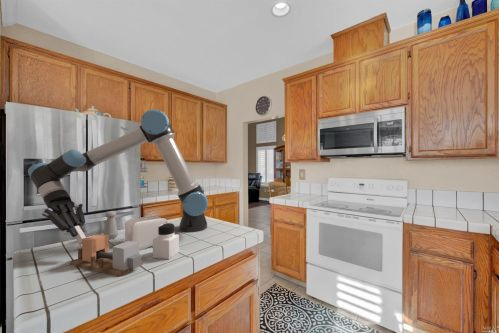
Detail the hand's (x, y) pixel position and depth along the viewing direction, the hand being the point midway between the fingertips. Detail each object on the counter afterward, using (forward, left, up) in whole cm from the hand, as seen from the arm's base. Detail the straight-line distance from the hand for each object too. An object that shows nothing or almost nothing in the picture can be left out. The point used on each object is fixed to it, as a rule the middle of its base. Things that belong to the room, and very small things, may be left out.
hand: (83, 241), depth 79 cm
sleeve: (-3, +6, -5) cm, 9 cm away
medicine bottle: (-25, +16, -7) cm, 31 cm away
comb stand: (-6, +11, -7) cm, 14 cm away
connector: (-11, +20, -6) cm, 24 cm away
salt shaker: (-11, -21, -7) cm, 25 cm away
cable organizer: (-22, -1, -7) cm, 23 cm away
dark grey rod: (-5, +9, -4) cm, 11 cm away
